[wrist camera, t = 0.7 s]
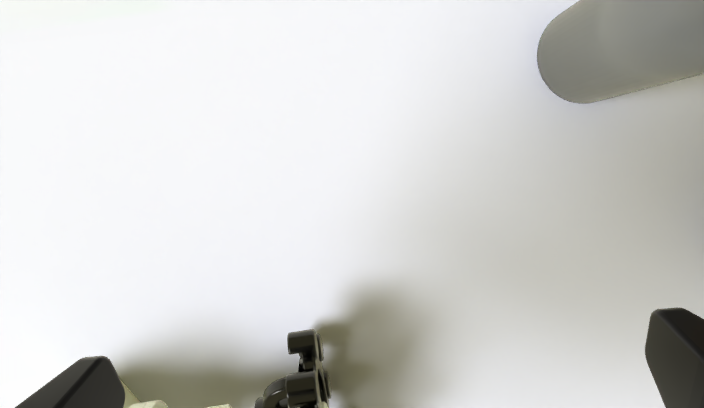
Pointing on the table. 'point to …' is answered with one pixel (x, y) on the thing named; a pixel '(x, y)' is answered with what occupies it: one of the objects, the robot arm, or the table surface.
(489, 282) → the table surface
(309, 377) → the valve
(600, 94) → the plug
